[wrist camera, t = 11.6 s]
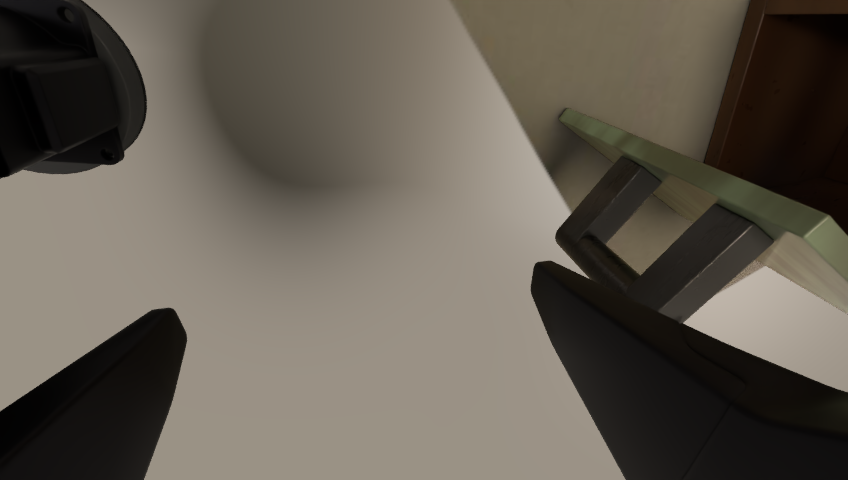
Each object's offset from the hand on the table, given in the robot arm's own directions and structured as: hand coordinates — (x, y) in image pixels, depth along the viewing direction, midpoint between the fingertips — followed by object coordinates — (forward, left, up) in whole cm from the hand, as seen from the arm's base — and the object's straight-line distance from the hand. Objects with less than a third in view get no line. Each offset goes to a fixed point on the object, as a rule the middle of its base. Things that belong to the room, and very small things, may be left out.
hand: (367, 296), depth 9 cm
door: (+16, -2, -13) cm, 21 cm away
